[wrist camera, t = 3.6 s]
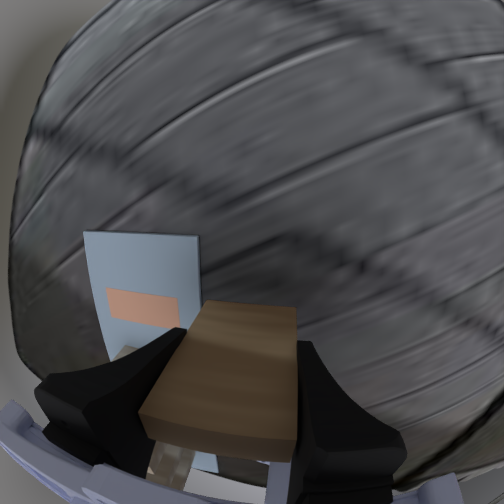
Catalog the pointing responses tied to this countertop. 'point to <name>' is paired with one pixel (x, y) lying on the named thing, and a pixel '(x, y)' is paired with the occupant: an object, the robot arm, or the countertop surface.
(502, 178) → the countertop surface
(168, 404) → the domino
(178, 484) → the domino
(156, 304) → the mat
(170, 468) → the domino
